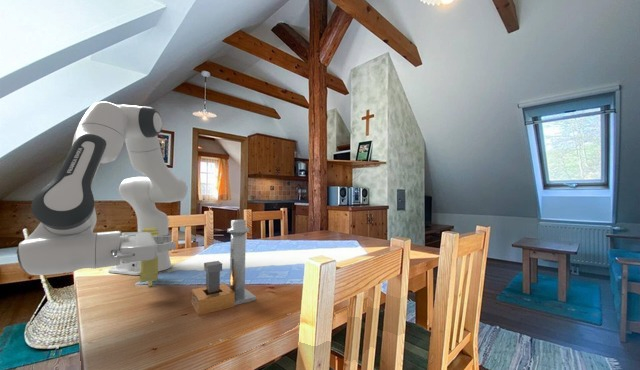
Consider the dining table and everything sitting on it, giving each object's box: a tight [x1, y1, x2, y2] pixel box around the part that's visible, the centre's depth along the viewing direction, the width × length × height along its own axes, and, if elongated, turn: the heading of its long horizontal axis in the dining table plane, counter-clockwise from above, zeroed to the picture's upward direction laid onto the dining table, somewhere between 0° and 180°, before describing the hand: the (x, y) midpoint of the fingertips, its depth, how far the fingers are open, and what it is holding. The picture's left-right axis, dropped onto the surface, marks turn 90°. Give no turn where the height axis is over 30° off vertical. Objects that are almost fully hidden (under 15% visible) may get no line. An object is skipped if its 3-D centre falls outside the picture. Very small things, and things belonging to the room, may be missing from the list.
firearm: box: [139, 227, 159, 288], centre depth 87 cm, size 4×30×15 cm
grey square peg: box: [203, 260, 223, 295], centre depth 76 cm, size 4×4×12 cm
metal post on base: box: [190, 219, 257, 316], centre depth 79 cm, size 16×10×24 cm, turn 127°
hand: (172, 241), depth 76 cm, fingers open, 8 cm apart
